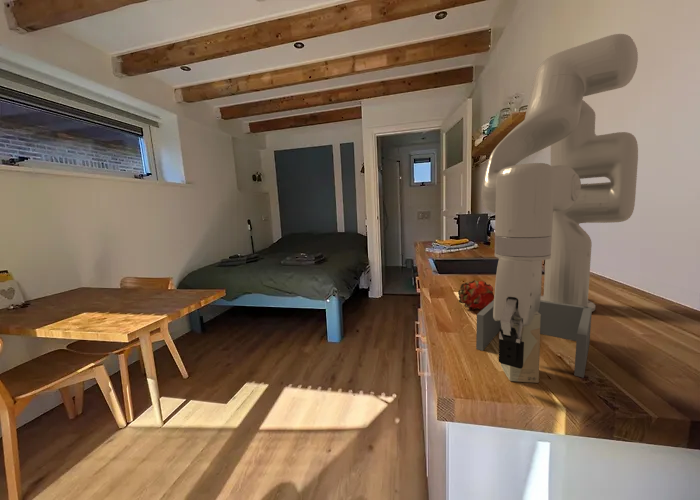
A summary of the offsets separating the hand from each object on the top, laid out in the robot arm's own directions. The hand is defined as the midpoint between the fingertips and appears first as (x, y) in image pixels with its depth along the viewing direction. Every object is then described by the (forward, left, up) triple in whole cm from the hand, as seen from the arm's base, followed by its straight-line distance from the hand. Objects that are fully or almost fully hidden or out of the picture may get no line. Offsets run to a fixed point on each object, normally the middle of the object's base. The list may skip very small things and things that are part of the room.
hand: (518, 352), depth 48 cm
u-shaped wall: (-13, 0, -4) cm, 14 cm away
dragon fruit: (-29, -16, -4) cm, 33 cm away
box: (0, 0, -4) cm, 4 cm away
